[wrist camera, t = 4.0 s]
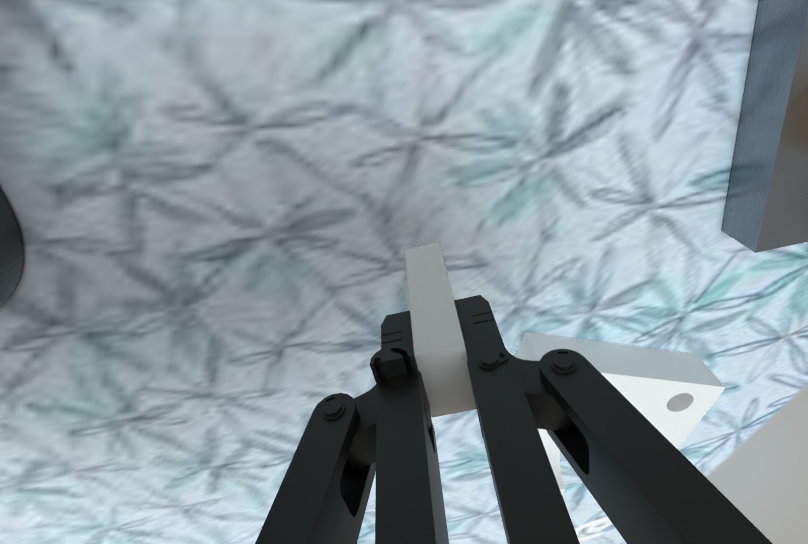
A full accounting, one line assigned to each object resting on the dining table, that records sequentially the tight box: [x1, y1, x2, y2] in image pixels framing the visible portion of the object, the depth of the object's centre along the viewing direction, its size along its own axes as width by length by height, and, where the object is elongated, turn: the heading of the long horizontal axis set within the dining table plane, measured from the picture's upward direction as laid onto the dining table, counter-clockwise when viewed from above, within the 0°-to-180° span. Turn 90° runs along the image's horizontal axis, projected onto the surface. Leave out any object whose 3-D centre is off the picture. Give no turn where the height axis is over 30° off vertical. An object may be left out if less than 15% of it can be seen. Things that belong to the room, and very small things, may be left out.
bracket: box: [515, 332, 726, 494], centre depth 30 cm, size 13×7×8 cm, turn 79°
